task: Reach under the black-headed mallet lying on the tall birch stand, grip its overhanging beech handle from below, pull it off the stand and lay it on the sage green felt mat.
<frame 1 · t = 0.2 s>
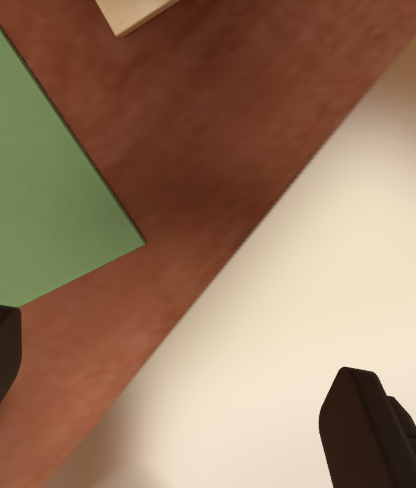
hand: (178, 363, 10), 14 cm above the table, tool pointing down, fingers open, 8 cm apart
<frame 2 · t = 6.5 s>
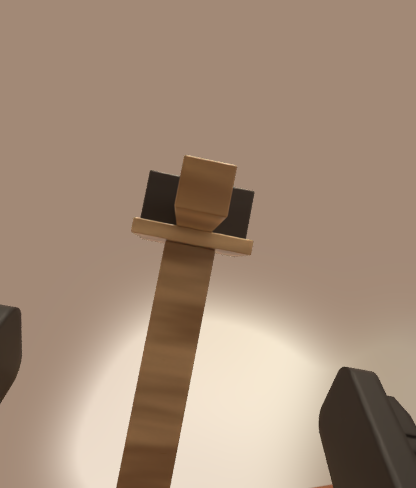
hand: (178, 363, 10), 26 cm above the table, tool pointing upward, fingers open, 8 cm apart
mallet: (191, 234, 31), point 30 cm above the table, touching stand
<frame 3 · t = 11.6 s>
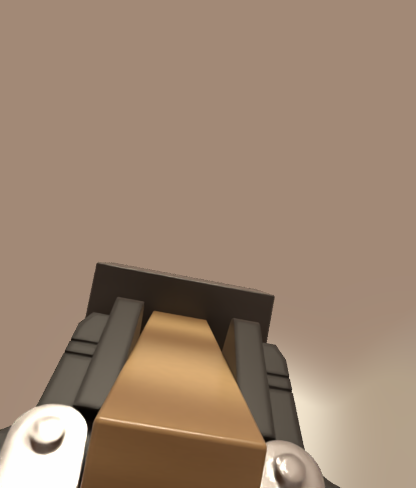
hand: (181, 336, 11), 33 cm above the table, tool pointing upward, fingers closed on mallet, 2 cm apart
mallet: (170, 359, 19), point 31 cm above the table, touching gripper, stand
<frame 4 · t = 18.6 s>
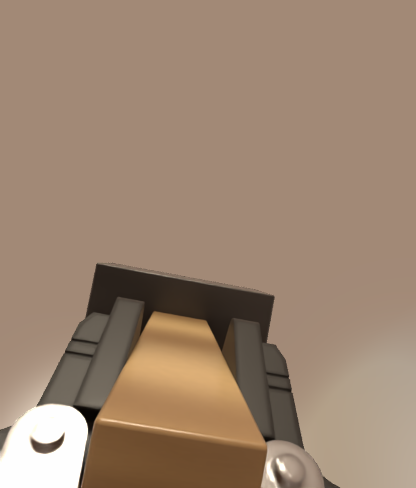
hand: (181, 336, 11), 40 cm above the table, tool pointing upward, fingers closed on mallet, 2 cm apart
mallet: (170, 359, 19), point 37 cm above the table, touching gripper
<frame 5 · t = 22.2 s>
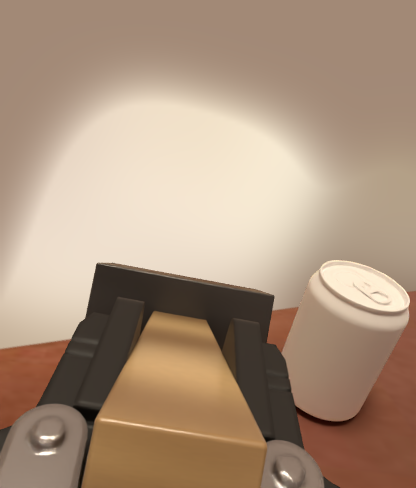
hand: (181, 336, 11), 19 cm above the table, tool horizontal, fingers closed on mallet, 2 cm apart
mallet: (170, 359, 19), point 13 cm above the table, tilted 31°, touching gripper
beverage can: (315, 390, 37), on the table
when the fingers open (8 cm above the table, at t = 25.4 s): mallet drops 1 cm, resting on felt mat.
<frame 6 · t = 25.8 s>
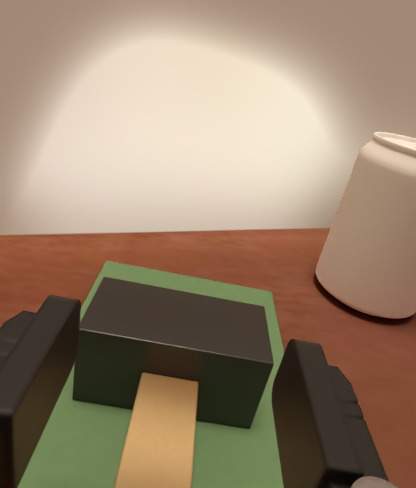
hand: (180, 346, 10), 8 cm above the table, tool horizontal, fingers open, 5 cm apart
mallet: (167, 381, 19), resting on felt mat
felt mat: (174, 388, 19), on the table
beverage can: (361, 294, 32), on the table
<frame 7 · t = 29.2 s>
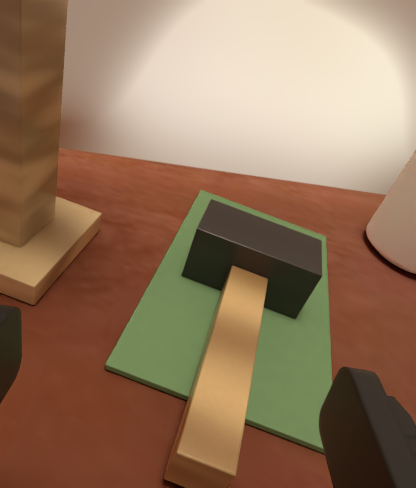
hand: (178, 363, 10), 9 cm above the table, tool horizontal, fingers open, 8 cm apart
stand: (11, 240, 25), on the table
mallet: (242, 279, 27), resting on felt mat
felt mat: (246, 285, 28), on the table
beverage can: (401, 254, 38), on the table
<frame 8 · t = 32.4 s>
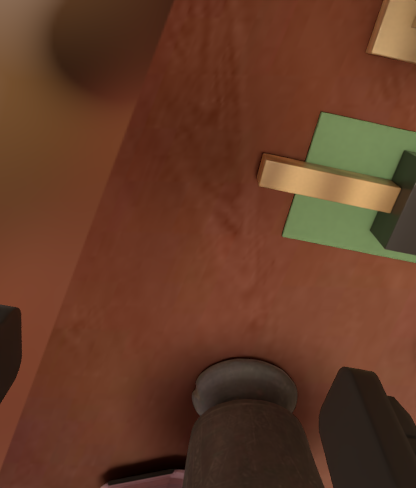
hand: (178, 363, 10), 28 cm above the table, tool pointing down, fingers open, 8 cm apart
vase: (247, 393, 49), on the table
mallet: (406, 196, 37), resting on felt mat
felt mat: (402, 198, 37), on the table
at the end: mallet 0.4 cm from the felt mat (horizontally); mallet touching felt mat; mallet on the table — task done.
